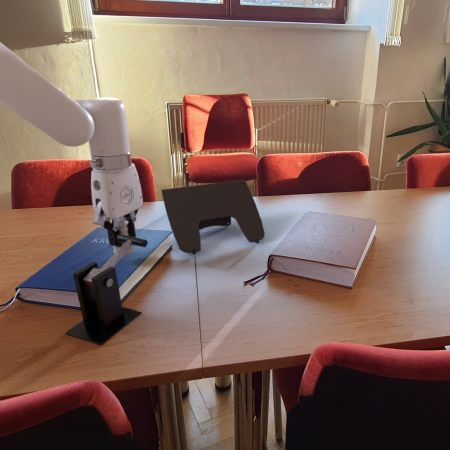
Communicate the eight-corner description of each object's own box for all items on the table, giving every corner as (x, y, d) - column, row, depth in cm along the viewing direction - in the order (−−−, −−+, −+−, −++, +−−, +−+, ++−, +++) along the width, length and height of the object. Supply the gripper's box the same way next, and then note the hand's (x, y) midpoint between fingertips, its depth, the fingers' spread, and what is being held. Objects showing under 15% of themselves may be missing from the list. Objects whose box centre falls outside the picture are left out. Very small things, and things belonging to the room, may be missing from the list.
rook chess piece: (136, 247, 101) (132, 214, 98) (133, 255, 97) (128, 222, 94) (116, 248, 100) (111, 215, 97) (111, 257, 96) (106, 223, 93)
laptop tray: (178, 276, 107) (178, 253, 101) (161, 207, 120) (160, 183, 114) (267, 259, 116) (272, 237, 109) (242, 196, 129) (246, 173, 122)
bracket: (108, 307, 85) (98, 253, 80) (142, 317, 82) (133, 261, 78) (66, 338, 77) (51, 279, 72) (102, 350, 74) (89, 289, 69)
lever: (124, 239, 85) (119, 230, 83) (149, 245, 83) (145, 236, 81) (80, 286, 76) (73, 277, 75) (107, 293, 74) (101, 284, 73)
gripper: (95, 173, 82) (108, 261, 89) (153, 154, 96) (161, 231, 104) (64, 168, 85) (80, 254, 92) (125, 150, 99) (135, 225, 106)
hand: (122, 241), depth 98 cm, fingers closed on rook chess piece, 3 cm apart
